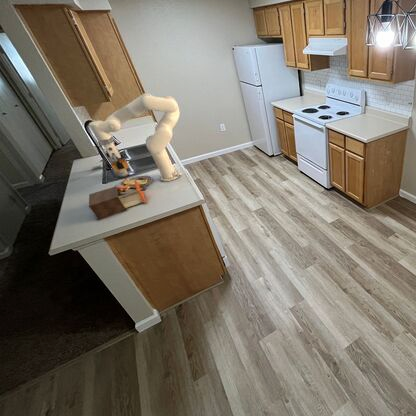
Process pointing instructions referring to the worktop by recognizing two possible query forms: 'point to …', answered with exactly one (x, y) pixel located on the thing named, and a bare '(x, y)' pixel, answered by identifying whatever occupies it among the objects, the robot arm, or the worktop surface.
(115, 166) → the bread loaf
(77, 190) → the worktop surface
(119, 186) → the food plate
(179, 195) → the worktop surface
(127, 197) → the drawer
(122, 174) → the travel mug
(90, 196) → the cabinet
